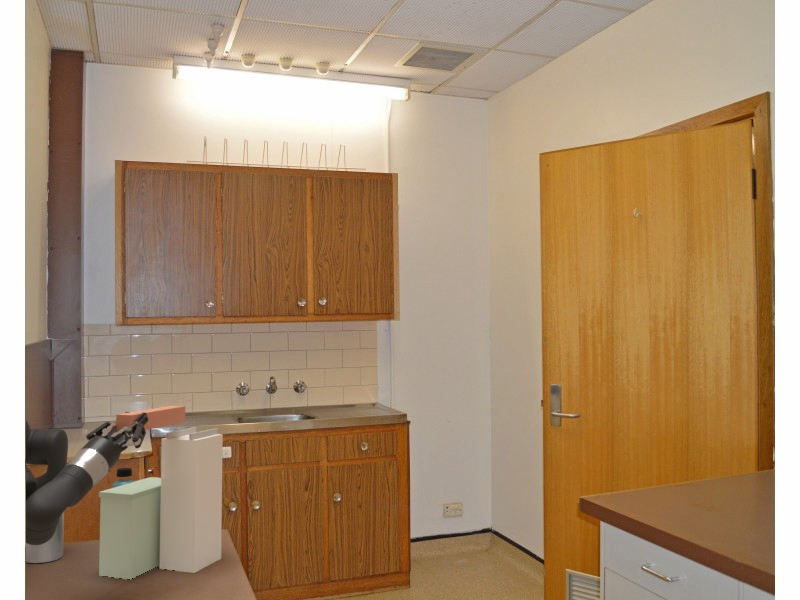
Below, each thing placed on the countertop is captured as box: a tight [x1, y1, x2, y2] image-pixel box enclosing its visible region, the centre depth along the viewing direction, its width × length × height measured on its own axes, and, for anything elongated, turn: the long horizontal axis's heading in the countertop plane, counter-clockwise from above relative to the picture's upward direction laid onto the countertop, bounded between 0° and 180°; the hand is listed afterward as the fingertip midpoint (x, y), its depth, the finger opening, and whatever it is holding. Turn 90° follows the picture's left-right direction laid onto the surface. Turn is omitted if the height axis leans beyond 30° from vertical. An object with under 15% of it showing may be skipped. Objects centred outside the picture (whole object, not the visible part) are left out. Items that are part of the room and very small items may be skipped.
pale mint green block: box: [98, 476, 161, 581], centre depth 183 cm, size 10×20×20 cm, turn 162°
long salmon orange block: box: [115, 405, 186, 433], centre depth 174 cm, size 4×21×4 cm, turn 163°
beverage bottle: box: [112, 467, 135, 488], centre depth 207 cm, size 6×7×20 cm
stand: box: [158, 426, 224, 574], centre depth 185 cm, size 10×12×34 cm
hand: (137, 415), depth 169 cm, fingers closed on long salmon orange block, 4 cm apart
